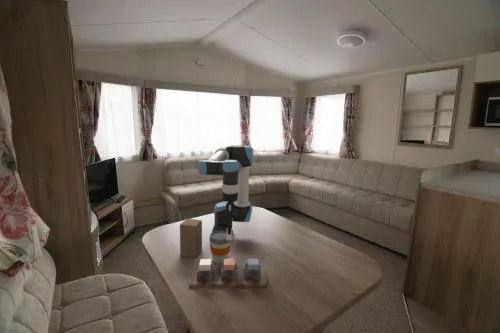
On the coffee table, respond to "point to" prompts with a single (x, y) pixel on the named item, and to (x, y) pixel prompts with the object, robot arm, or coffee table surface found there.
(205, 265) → the cream button
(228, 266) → the terracotta button
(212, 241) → the reusable coffee cup
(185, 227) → the wooden block
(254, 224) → the coffee table surface
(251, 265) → the slate button
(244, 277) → the console
